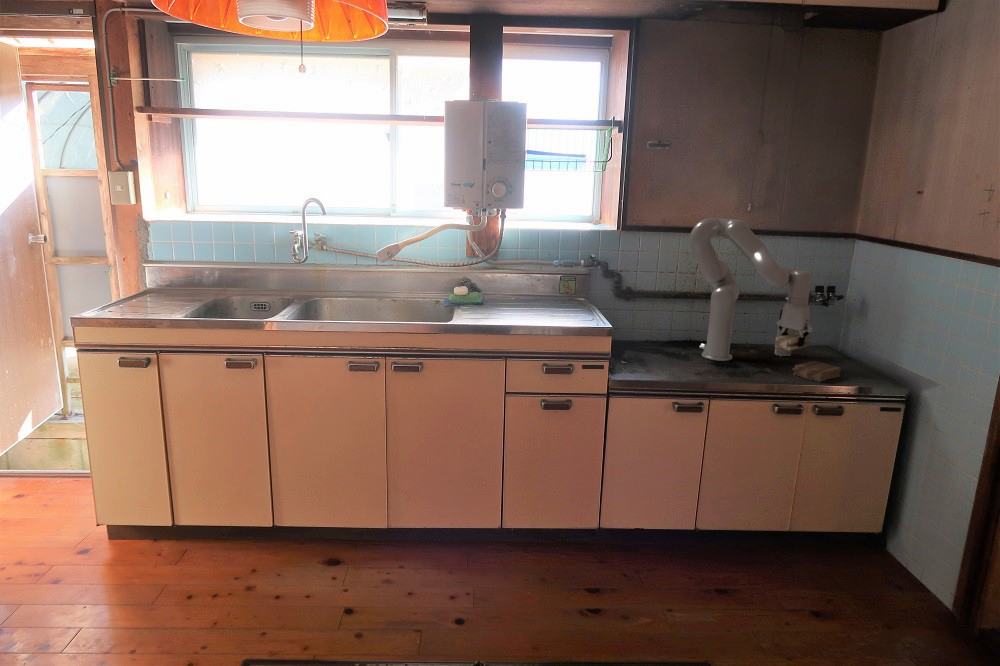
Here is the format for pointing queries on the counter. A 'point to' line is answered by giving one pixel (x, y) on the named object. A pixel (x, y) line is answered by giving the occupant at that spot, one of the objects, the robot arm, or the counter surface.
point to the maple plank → (790, 341)
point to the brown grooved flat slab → (816, 371)
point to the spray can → (778, 350)
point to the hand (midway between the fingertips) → (792, 344)
